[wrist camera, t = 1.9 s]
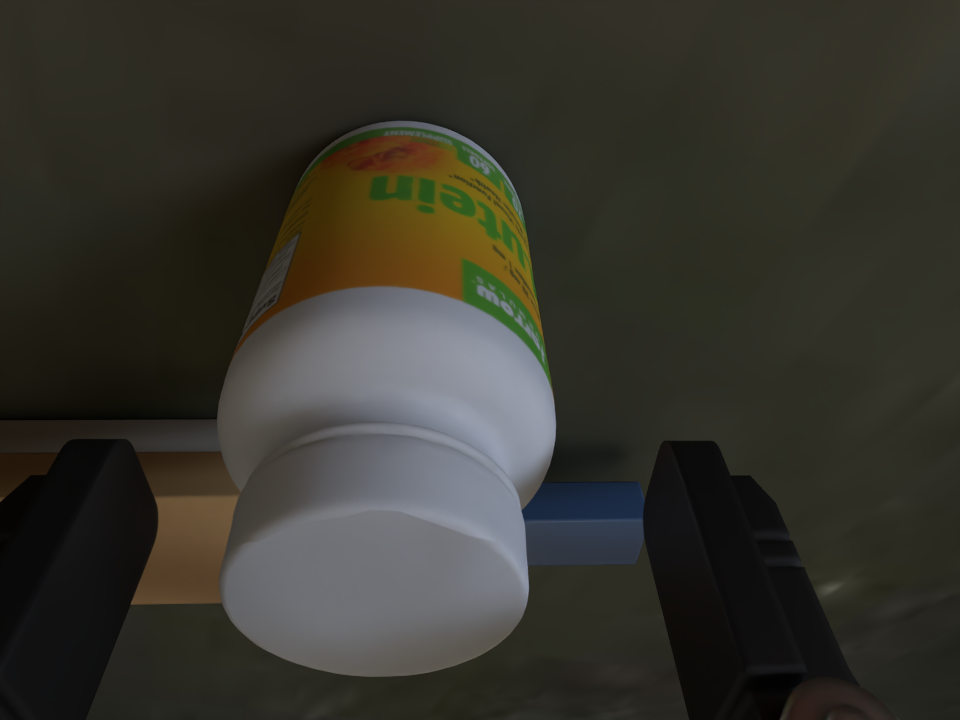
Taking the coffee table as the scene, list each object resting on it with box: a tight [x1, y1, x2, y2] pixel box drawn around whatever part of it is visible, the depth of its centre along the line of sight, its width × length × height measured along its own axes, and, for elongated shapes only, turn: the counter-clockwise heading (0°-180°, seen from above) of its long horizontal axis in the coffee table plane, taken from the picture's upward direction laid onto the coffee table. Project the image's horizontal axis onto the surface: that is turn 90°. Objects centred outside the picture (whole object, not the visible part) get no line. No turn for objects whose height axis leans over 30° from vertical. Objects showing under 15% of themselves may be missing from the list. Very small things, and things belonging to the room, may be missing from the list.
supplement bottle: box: [217, 121, 556, 677], centre depth 13 cm, size 5×5×10 cm
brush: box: [0, 419, 645, 604], centre depth 21 cm, size 5×19×3 cm, turn 88°
